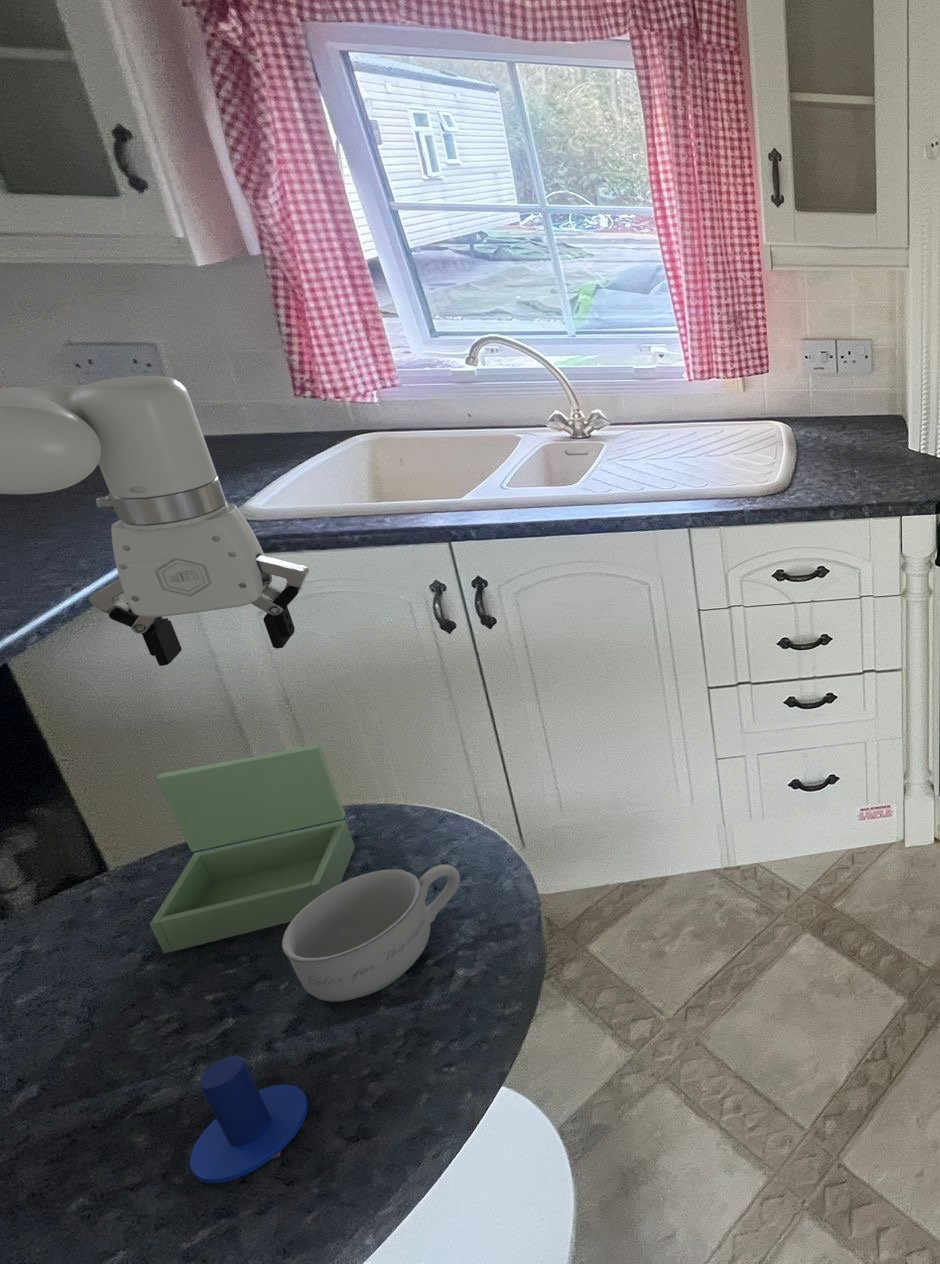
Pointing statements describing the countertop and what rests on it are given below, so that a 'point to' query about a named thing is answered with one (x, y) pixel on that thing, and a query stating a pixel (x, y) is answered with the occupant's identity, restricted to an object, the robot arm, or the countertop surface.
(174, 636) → the robot arm
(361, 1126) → the countertop surface
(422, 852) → the countertop surface
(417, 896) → the teacup
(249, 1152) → the blue cylinder on disc
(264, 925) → the green wooden box
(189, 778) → the hatch
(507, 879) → the countertop surface
